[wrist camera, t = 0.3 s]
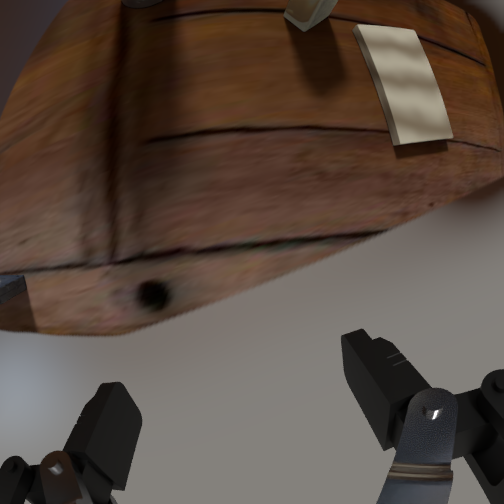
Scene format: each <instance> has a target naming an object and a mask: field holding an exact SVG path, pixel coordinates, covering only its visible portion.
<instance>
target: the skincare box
mask: <svg viewBox="0 0 504 504" xmlns="http://www.w3.org/2000/svg"><path fill="white" fill-rule="evenodd" d="M337 1H338V0H289V2H288V5H287V8H286V10H285V13H284V17H285V18H287V19H288V20H289V21H290V22H292V23H293V24H294V25H295V26H297V27H298V28H299V29H301V30H302V31H303V32H305V31H307V30H308V29H310V28H312V27H313V26H315V25H316V24H318V23H319V22H320V21H322V20H323V19H325V18H326V17H328V15H329V14H330V12H331V11H332V9H333V7H334V6H335V4H336V3H337Z"/></svg>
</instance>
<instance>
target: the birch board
mask: <svg viewBox="0 0 504 504" xmlns="http://www.w3.org/2000/svg"><path fill="white" fill-rule="evenodd" d="M352 31H353V33H354V35H355V37H356V39H357V42H358V44H359V46H360V49H361V51H362V53H363V56H364V58H365V61H366V63H367V66H368V68H369V71H370V73H371V76H372V79H373V81H374V84H375V87H376V90H377V93H378V96H379V99H380V102H381V105H382V108H383V111H384V114H385V117H386V121H387V124H388V128H389V131H390V135H391V138H392V142H393V146H395V145H402V144H409V143H416V142H424V141H433V140H442V139H449V138H453V134H452V131H451V127H450V123H449V119H448V116H447V113H446V109H445V106H444V103H443V100H442V97H441V94H440V91H439V88H438V85H437V82H436V80H435V77H434V74H433V72H432V69H431V67H430V64H429V62H428V59H427V57H426V55H425V52H424V50H423V48H422V46H421V43H420V41H419V39H418V37H417V35H416V33H415V31H414V30H409V29H402V28H394V27H385V26H373V25H356V26H355V27H354V29H353V30H352Z"/></svg>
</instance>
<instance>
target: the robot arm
mask: <svg viewBox="0 0 504 504" xmlns="http://www.w3.org/2000/svg"><path fill="white" fill-rule="evenodd" d="M121 1H122V2H123V4H124V5H125V6H128V7H131V8H143V7H148V6H152V5H154V4H157V3H159V2H161V1H163V0H121ZM341 345H342V354H343V366H344V373H345V377H346V380H347V383H348V385H349V387H350V389H351V391H352V392H353V394H354V396H355V398H356V400H357V402H358V403H359V405H360V407H361V409H362V411H363V413H364V414H365V417H366V418H367V420H368V422H369V424H370V425H371V428H372V430H373V432H374V433H375V435H376V437H377V439H378V441H379V443H380V445H381V447H382V449H383V451H385V450H387V449H390V448H392V447H394V448H395V450H396V455H395V457H394V460H393V464H392V466H391V468H390V470H389V473H388V475H387V478H386V481H385V483H384V486H383V488H382V491H381V493H380V496H379V498H378V501H377V503H376V504H447V503H448V499H449V495H450V491H451V487H452V482H453V471H451V469H450V468H451V460H452V459H455V458H459V457H462V456H463V457H464V458H465V460H466V461H467V463H468V465H469V467H470V468H471V470H472V472H473V473H474V475H475V477H476V478H477V480H478V482H479V484H480V485H481V487H482V489H483V490H484V493H485V494H486V496H487V498H488V500H489V502H490V503H491V504H504V369H502V370H501V369H500V370H495V371H492V372H490V373H489V374H488V375H486V377H485V378H484V379H483V382H482V384H481V387H480V388H478V389H474V390H471V391H468V392H464V393H461V394H455V395H453V394H452V393H451V392H449V391H448V390H445V389H442V388H432V387H431V386H430V385H429V384H428V383H427V381H426V380H425V379H424V378H423V377H422V376H421V375H420V373H419V372H418V371H417V370H416V369H415V368H414V367H413V365H411V363H410V362H409V361H407V360H406V358H405V357H404V355H403V354H402V353H400V351H399V350H398V349H397V348H396V346H395V345H394V344H393V343H391V342H390V341H387V340H385V339H383V338H381V337H379V338H377V339H374V340H372V339H371V338H370V336H368V334H367V333H366V332H365V330H364V329H359V330H357V331H353V332H350V333H347V334H344V335H342V336H341ZM80 415H81V416H79V418H78V420H77V424H75V426H74V428H73V430H72V432H71V434H70V436H69V438H68V440H67V442H66V444H65V446H64V449H63V451H53V452H51V453H49V454H48V455H46V456H45V457H44V458H43V460H42V461H41V464H40V465H30V466H29V465H28V464H27V463H26V462H25V461H24V460H23V459H22V458H21V457H20V456H12V457H9V458H8V459H7V460H6V461H4V463H3V464H2V466H1V468H0V504H24V502H25V499H26V500H28V501H29V502H30V503H31V504H117V502H116V500H115V499H114V497H113V496H112V495H111V491H112V489H113V490H122V491H124V490H125V486H126V482H127V478H128V474H129V471H130V467H131V463H132V459H133V455H134V452H135V448H136V444H137V440H138V437H139V433H140V430H141V426H142V416H141V413H140V411H139V409H138V407H137V406H136V404H135V402H134V401H133V399H132V398H131V396H130V395H129V393H128V391H127V390H126V388H125V386H124V385H123V384H122V383H121V382H112V383H102V384H101V385H100V386H99V388H98V390H97V392H96V394H95V396H94V397H93V398H92V399H91V400H90V401H89V402H88V403H87V404H86V405H85V407H84V408H83V410H82V412H81V414H80Z"/></svg>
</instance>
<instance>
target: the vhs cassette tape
mask: <svg viewBox="0 0 504 504" xmlns="http://www.w3.org/2000/svg"><path fill="white" fill-rule="evenodd" d="M23 277H24V275H0V304H3V303H4V302H6V301H7V300H9V299H11V298H12V297H14V296H16V295H18V294H19V293H21V292H22V291H24V290H26V285H25V281H24V278H23Z"/></svg>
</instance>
